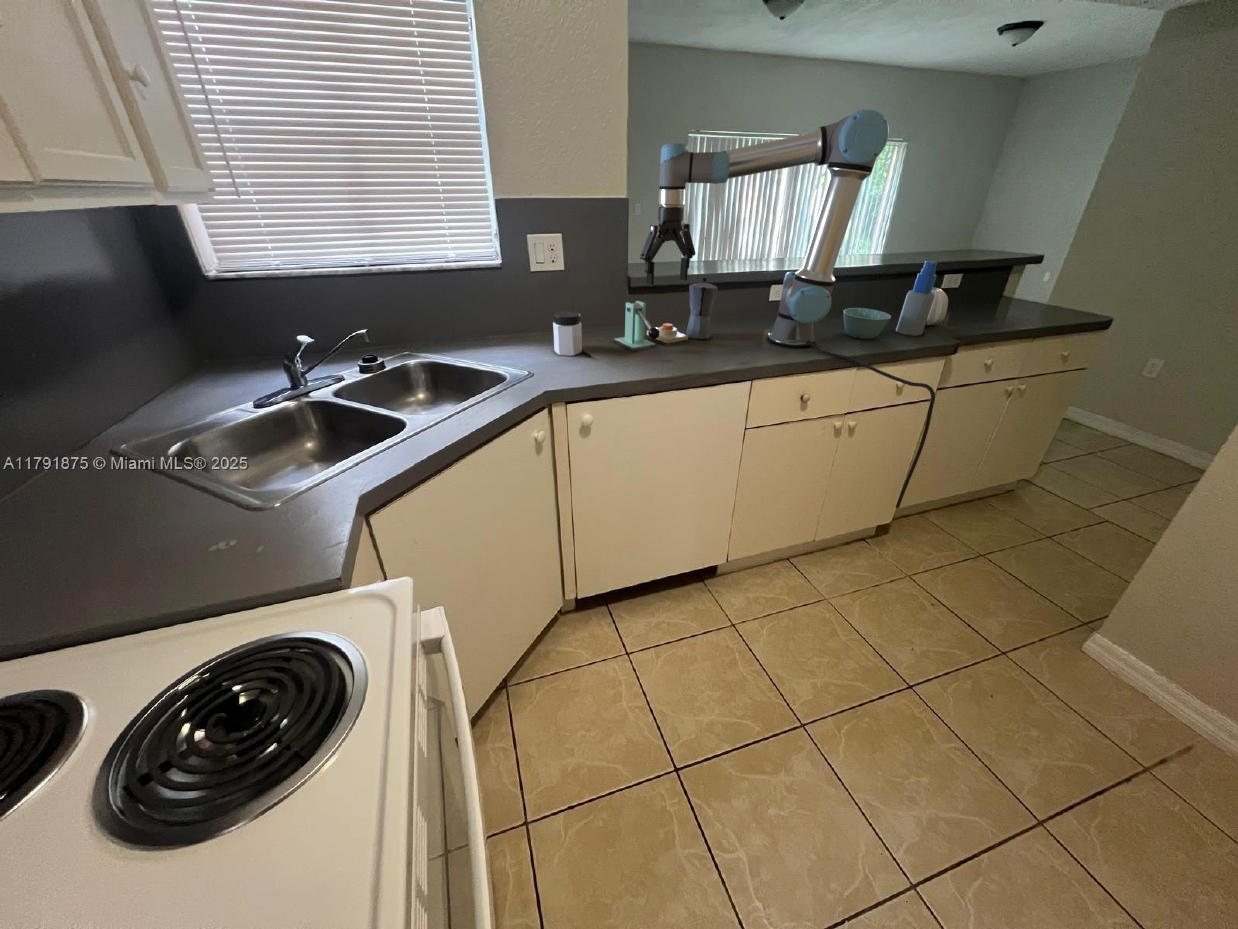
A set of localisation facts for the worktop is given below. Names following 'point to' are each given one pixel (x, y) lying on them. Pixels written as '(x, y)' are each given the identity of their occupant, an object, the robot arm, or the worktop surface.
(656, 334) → the lever
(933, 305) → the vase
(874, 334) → the bowl
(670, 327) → the button
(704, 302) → the moka pot
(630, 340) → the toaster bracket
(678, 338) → the button block
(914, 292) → the spray bottle
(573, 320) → the jar
